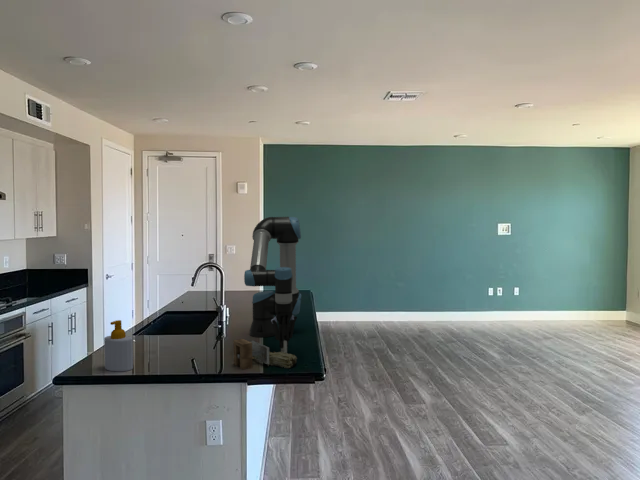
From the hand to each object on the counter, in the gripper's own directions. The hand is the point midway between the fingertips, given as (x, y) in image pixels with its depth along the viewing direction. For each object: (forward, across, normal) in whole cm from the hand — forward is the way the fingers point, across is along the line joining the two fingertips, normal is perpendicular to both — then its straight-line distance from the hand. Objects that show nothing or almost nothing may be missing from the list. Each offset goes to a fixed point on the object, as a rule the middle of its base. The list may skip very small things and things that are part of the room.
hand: (284, 354), depth 203 cm
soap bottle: (+3, +62, -33) cm, 70 cm away
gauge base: (+2, +14, -6) cm, 16 cm away
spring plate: (+1, +15, -3) cm, 15 cm away
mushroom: (+3, +4, +4) cm, 6 cm away
